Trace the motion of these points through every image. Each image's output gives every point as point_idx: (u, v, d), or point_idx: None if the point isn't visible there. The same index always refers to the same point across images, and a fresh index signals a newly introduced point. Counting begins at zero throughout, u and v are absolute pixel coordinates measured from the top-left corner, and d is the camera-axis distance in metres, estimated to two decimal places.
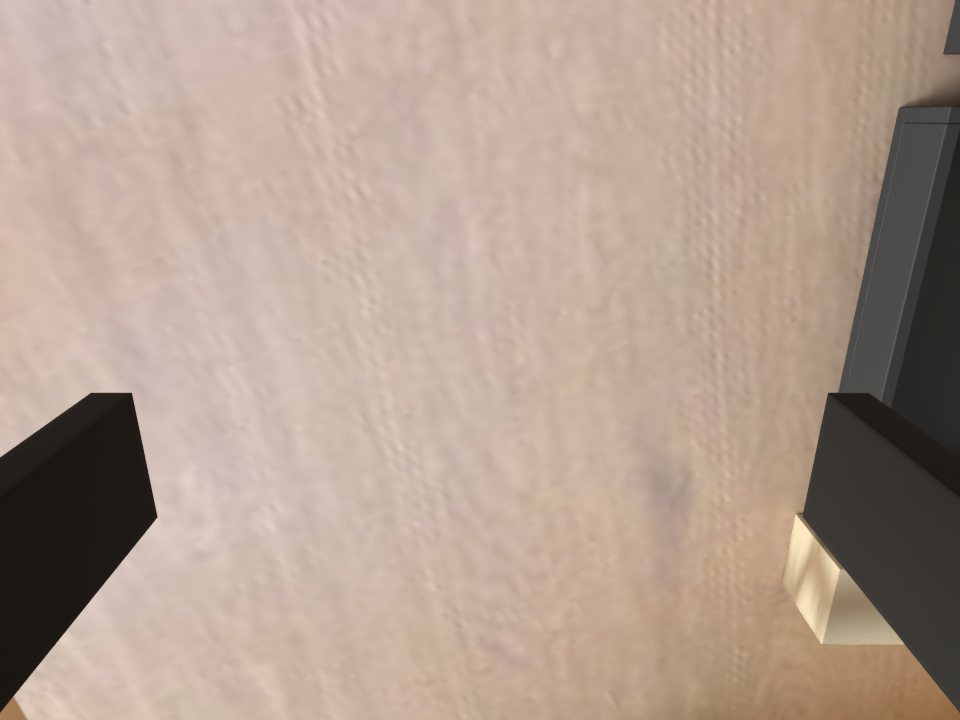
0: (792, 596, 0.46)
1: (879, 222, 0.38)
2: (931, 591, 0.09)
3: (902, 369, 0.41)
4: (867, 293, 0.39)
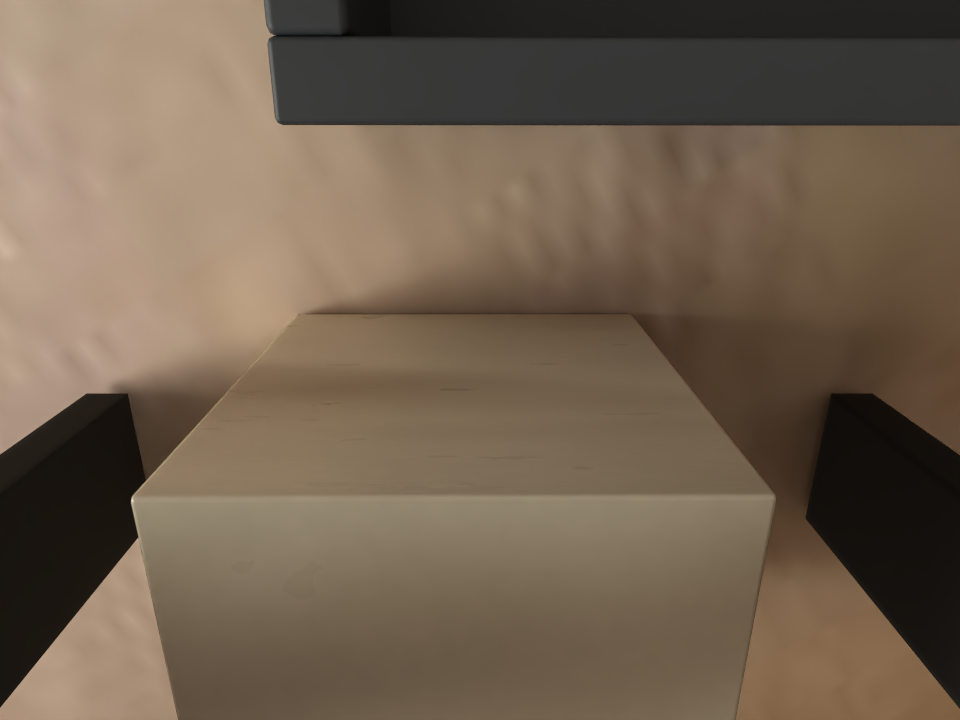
0: None
1: None
2: (936, 592, 0.09)
3: None
4: None
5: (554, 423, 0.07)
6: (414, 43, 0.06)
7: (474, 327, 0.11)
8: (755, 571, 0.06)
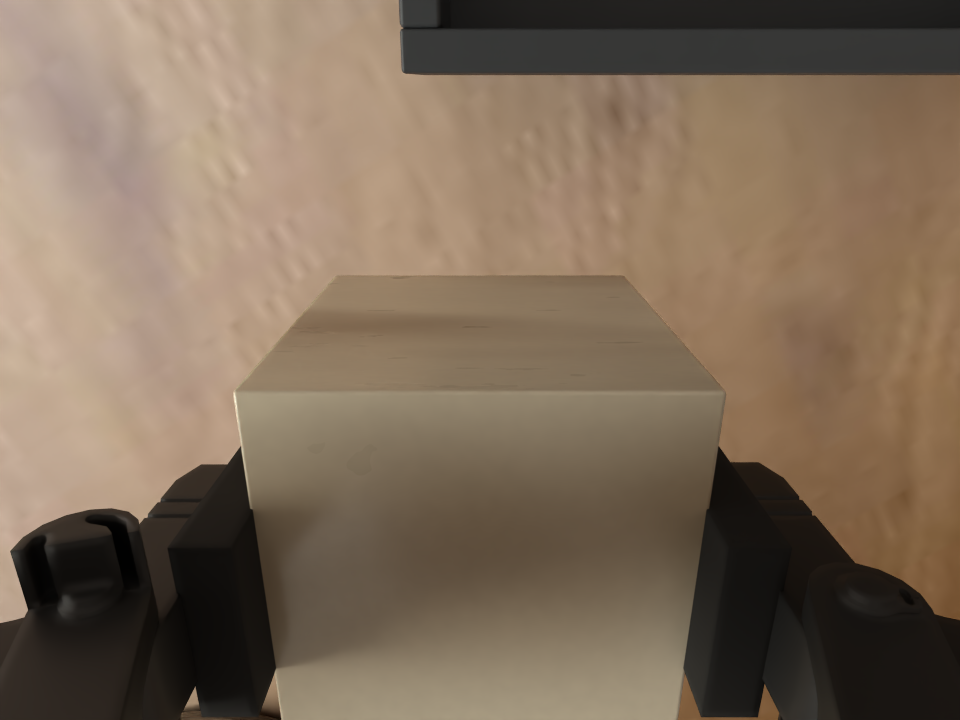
0: None
1: None
2: None
3: None
4: None
5: (556, 348, 0.09)
6: (472, 31, 0.13)
7: (488, 284, 0.13)
8: (711, 453, 0.08)
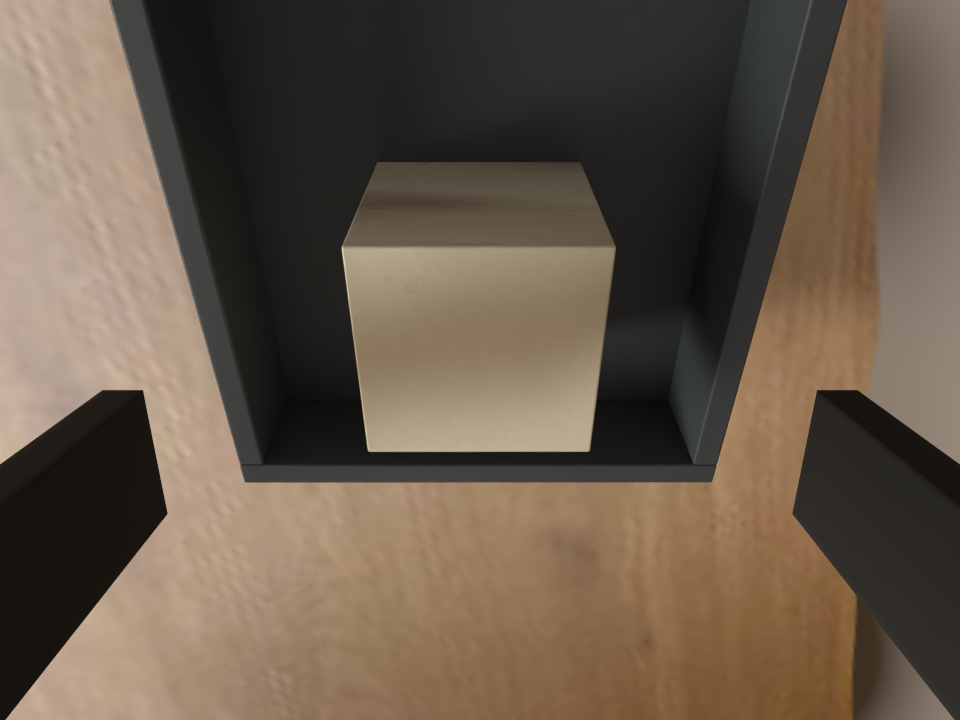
0: None
1: None
2: (915, 585, 0.09)
3: (331, 211, 0.20)
4: None
5: (525, 219, 0.15)
6: (283, 466, 0.21)
7: (484, 170, 0.18)
8: (608, 281, 0.15)
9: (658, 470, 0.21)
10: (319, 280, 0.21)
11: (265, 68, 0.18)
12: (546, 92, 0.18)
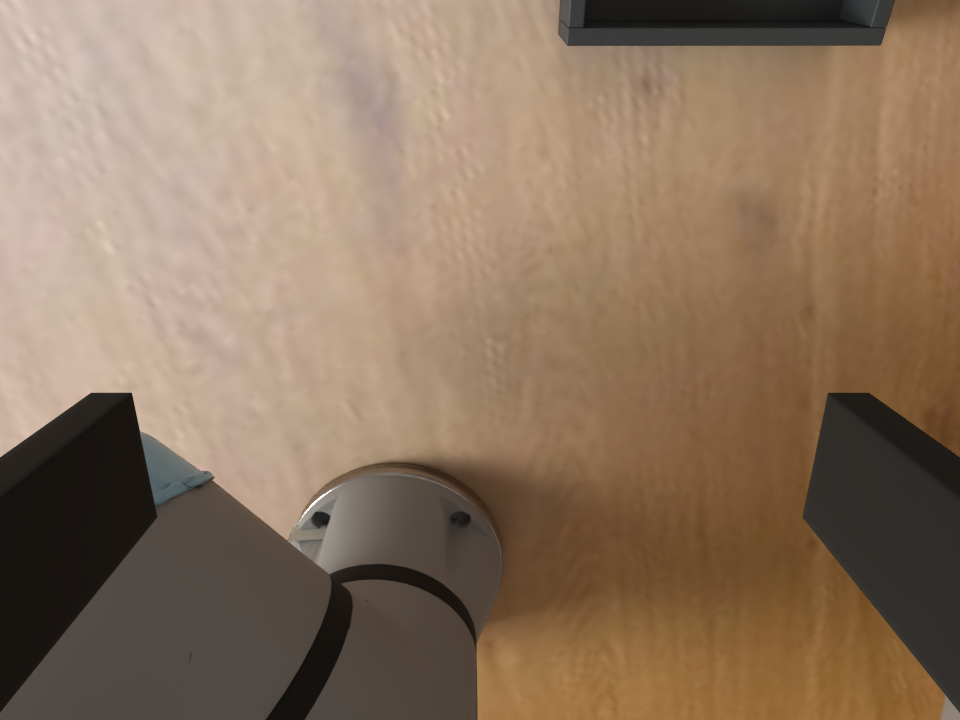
0: None
1: None
2: (931, 590, 0.09)
3: None
4: None
5: None
6: (596, 29, 0.32)
7: None
8: None
9: (846, 32, 0.32)
10: None
11: None
12: None
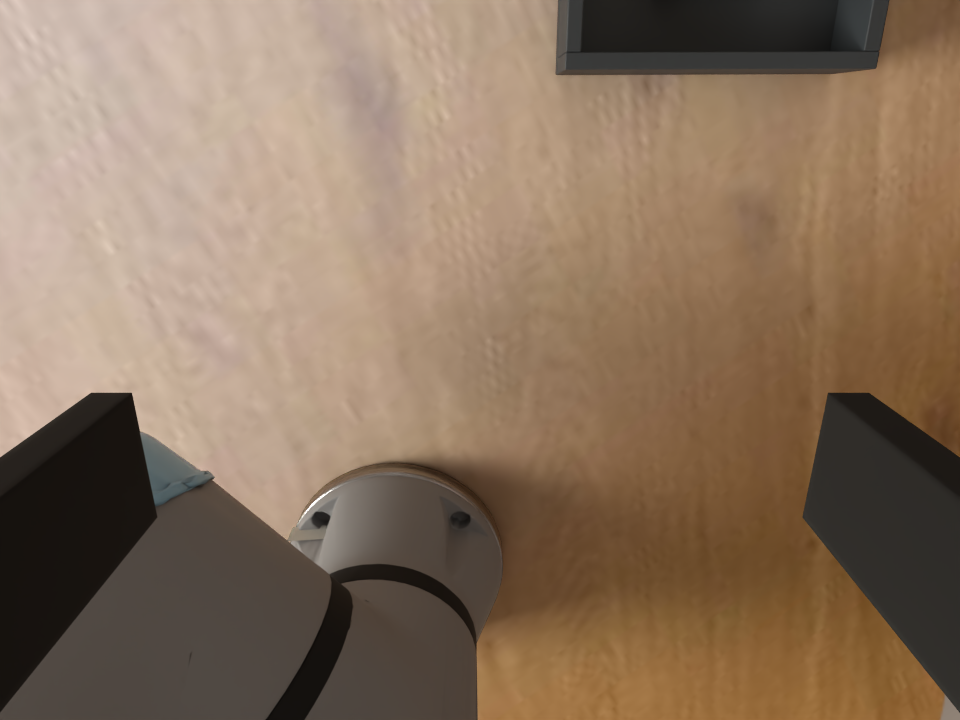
0: None
1: None
2: (931, 590, 0.09)
3: None
4: None
5: None
6: (593, 53, 0.32)
7: None
8: None
9: (841, 56, 0.32)
10: None
11: None
12: None
